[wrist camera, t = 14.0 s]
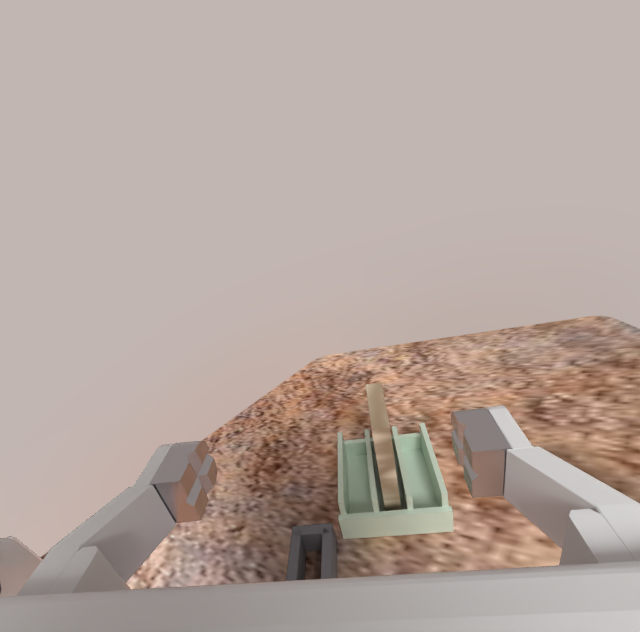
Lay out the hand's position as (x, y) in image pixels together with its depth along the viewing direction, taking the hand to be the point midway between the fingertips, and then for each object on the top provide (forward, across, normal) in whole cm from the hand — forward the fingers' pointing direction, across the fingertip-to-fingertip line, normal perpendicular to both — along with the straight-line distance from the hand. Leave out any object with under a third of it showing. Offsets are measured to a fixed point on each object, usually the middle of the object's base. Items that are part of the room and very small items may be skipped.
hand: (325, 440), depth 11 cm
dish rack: (+20, -2, +30) cm, 36 cm away
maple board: (+20, -2, +29) cm, 35 cm away
